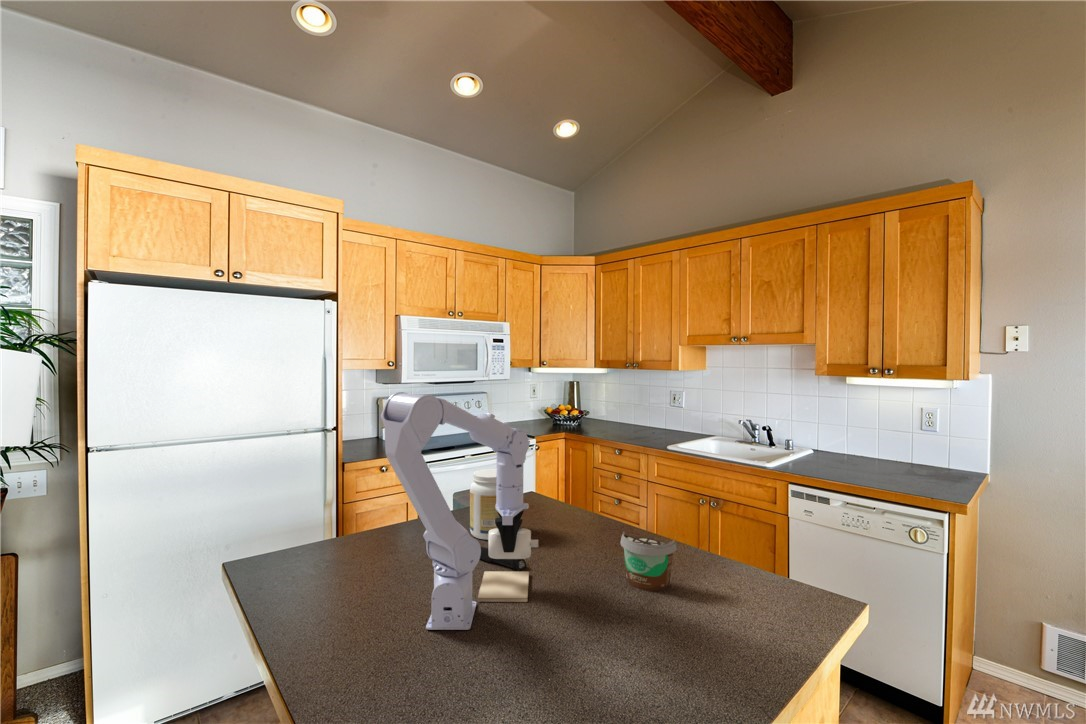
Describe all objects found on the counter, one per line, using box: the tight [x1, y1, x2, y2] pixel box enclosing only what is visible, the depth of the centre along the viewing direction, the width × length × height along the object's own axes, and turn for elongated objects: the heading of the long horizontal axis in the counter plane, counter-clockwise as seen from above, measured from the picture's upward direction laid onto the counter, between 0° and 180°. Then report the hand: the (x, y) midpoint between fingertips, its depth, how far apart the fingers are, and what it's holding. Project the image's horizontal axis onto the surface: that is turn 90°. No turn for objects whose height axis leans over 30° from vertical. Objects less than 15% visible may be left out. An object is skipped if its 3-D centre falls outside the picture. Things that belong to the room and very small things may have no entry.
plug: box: [487, 527, 539, 560], centre depth 104 cm, size 11×4×5 cm, turn 90°
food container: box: [620, 531, 678, 592], centre depth 105 cm, size 12×6×10 cm, turn 62°
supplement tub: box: [469, 468, 500, 541], centre depth 136 cm, size 12×12×17 cm
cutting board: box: [477, 570, 530, 603], centre depth 104 cm, size 12×10×1 cm
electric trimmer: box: [479, 545, 528, 571], centre depth 117 cm, size 4×16×3 cm, turn 56°
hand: (509, 547), depth 104 cm, fingers closed on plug, 4 cm apart
